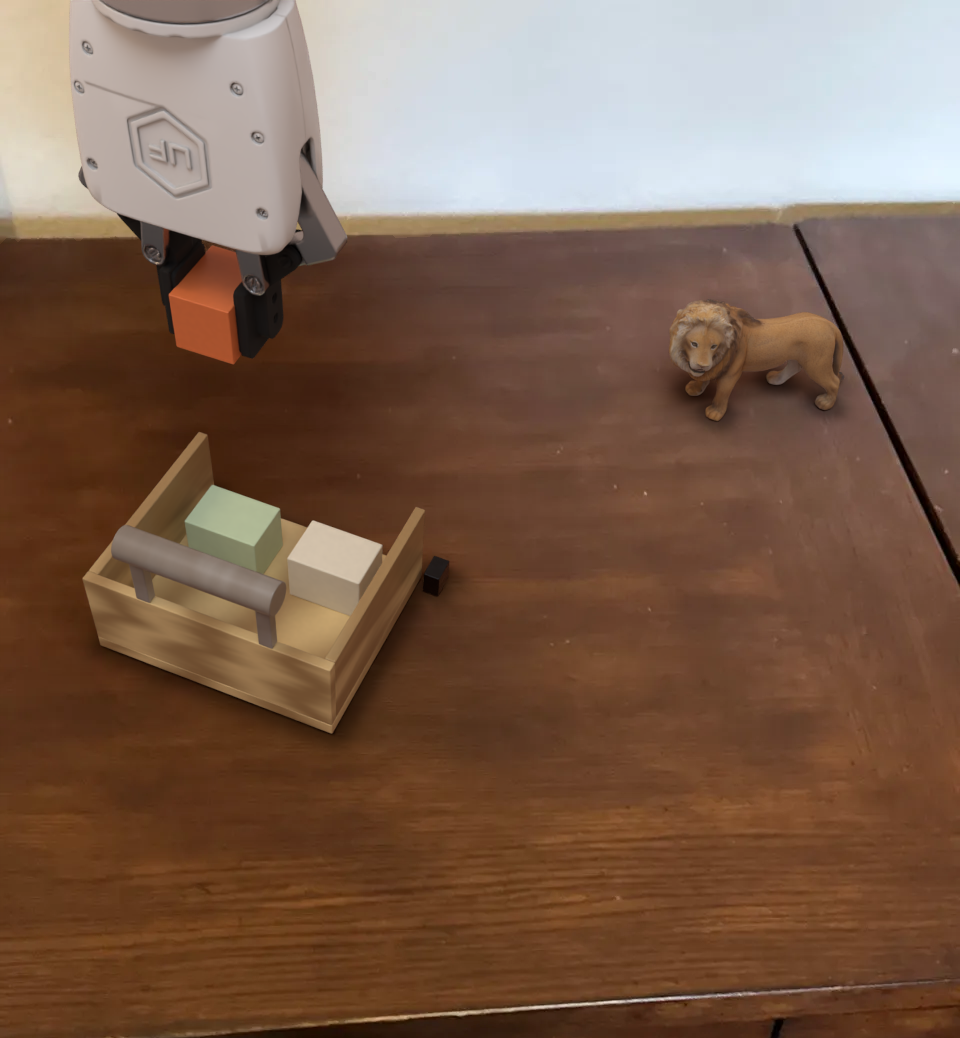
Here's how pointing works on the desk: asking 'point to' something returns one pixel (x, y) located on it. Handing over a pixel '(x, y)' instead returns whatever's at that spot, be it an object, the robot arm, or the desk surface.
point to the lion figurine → (753, 350)
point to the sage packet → (235, 529)
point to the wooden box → (240, 607)
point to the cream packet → (332, 567)
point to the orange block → (208, 307)
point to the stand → (435, 576)
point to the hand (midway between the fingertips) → (224, 327)
